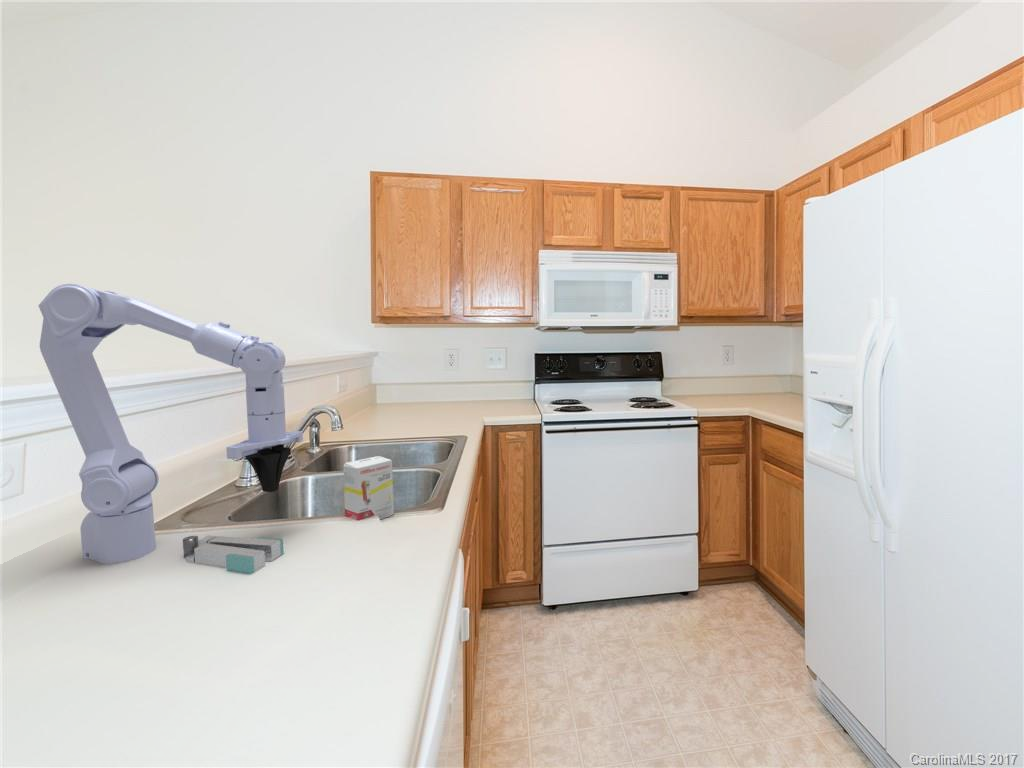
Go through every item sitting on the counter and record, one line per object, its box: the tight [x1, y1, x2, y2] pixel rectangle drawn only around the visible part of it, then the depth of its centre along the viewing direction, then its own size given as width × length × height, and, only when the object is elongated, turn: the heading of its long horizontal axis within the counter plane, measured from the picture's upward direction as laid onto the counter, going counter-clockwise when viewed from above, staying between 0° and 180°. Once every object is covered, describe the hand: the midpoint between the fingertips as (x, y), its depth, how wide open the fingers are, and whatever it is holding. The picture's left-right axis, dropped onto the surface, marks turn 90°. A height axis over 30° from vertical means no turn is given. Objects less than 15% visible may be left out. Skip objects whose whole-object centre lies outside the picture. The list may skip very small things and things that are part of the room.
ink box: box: [343, 455, 395, 521], centre depth 90 cm, size 9×5×12 cm, turn 141°
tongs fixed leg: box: [182, 535, 266, 575], centre depth 69 cm, size 16×4×3 cm, turn 74°
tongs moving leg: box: [198, 534, 285, 562], centre depth 72 cm, size 13×3×2 cm, turn 80°
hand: (270, 490), depth 78 cm, fingers closed
